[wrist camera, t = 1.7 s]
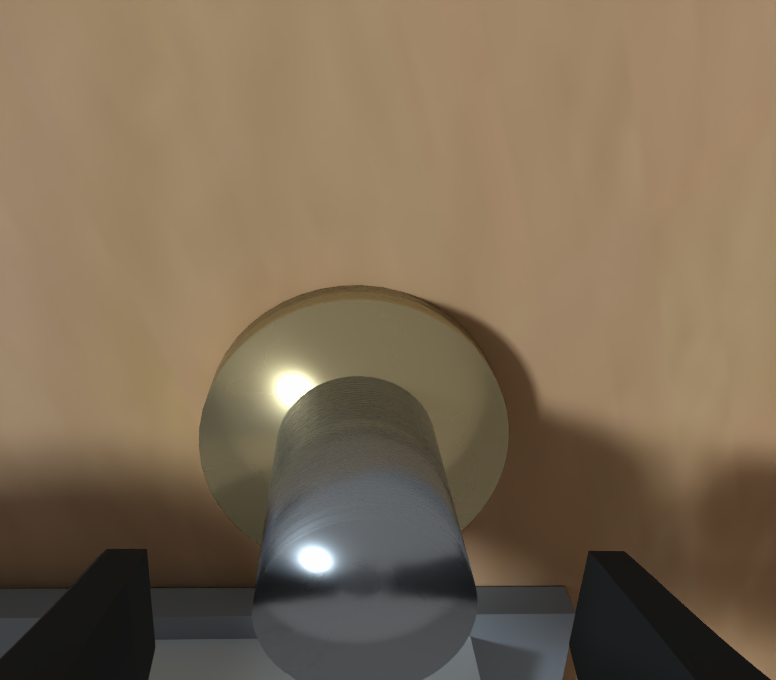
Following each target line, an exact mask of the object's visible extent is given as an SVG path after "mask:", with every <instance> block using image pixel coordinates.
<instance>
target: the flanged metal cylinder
mask: <svg viewBox="0 0 776 680" xmlns="http://www.w3.org/2000/svg"><path fill="white" fill-rule="evenodd" d="M508 442H509V424H508V414H507V409H506V405H505V401H504V397H503V395H502V392H501V390H500V387H499V385H498V382H497V380H496V378H495V376H494V374H493V372H492V370H491V368H490V366H489V364H488V362H487V360H486V358H485V357H484V355H483V353H482V351H481V350H480V348H479V346H478V345H477V343H476V342H475V341H474V340H473V338H472V337H471V336H470V335H469V333H468V332H467V331H466V330H465V329H464V328H463V327H462V326H461V325H460V324H459V323H457V322H456V321H455V320H454V319H453V318H452V317H450V316H449V315H448V314H446V313H445V312H443V311H442V310H441V309H439V308H438V307H436V306H434V305H432V304H430V303H428V302H426V301H424V300H422V299H420V298H418V297H415V296H412V295H410V294H407V293H404V292H401V291H397V290H392V289H388V288H384V287H375V286H365V285H351V286H336V287H330V288H323V289H319V290H315V291H312V292H308V293H305V294H301V295H299V296H296V297H294V298H292V299H289V300H287V301H285V302H282V303H281V304H279V305H277V306H276V307H274V308H272V309H270V310H269V311H267V312H265V313H264V314H263V315H262V316H260V317H259V318H258V319H256V320H255V321H254V322H253V323H251V324H250V325H249V326H248V327H247V328H246V329H245V330H244V331H243V332H242V333H241V334H240V335H239V336H238V337H237V338H236V340H235V341H234V343H233V344H232V345H231V347H230V348H229V350H228V351H227V352H226V354H225V356H224V357H223V359H222V361H221V363H220V365H219V367H218V369H217V371H216V374H215V377H214V379H213V382H212V385H211V388H210V390H209V393H208V396H207V399H206V402H205V405H204V408H203V411H202V417H201V422H200V428H199V449H200V457H201V464H202V468H203V471H204V475H205V478H206V481H207V483H208V485H209V488H210V490H211V492H212V494H213V496H214V498H215V499H216V501H217V503H218V504H219V506H220V507H221V509H222V510H223V512H224V513H225V514H226V515H227V516H228V518H229V519H230V520H231V521H232V522H233V523H234V525H236V526H237V527H238V528H239V529H240V530H241V531H242V532H243V533H244V534H245V535H247V536H248V537H249V538H251V539H252V540H253V541H255V542H256V543H258V544H259V545H261V550H260V557H259V564H258V571H257V577H256V584H255V591H254V598H253V608H252V618H253V626H254V629H255V633H256V636H257V639H258V641H259V643H260V645H261V647H262V648H263V650H264V651H265V653H266V654H267V656H268V657H269V658H270V659H271V660H272V661H273V662H274V663H275V665H276V666H278V667H279V668H280V669H281V670H283V671H284V672H285V673H286V674H288V675H290V676H291V677H293V678H294V679H296V680H423V679H425V678H427V677H429V676H430V675H432V674H433V673H435V672H437V671H438V670H439V669H441V668H442V667H443V666H444V665H446V664H447V663H448V662H449V661H450V660H451V659H452V658H453V657H454V656H455V655H456V654H457V653H458V652H459V650H460V649H461V648H462V647H463V645H464V644H465V642H466V640H467V639H468V637H469V635H470V633H471V631H472V628H473V626H474V623H475V619H476V614H477V603H478V599H477V590H476V586H475V582H474V579H473V575H472V571H471V567H470V564H469V560H468V556H467V552H466V548H465V545H464V541H463V537H462V533H461V530H463V529H464V528H465V527H466V526H467V525H468V524H469V523H470V522H471V521H472V520H473V519H474V518H475V517H476V516H477V515H478V514H479V513H480V511H481V510H482V508H483V507H484V506H485V504H486V503H487V502H488V500H489V499H490V497H491V495H492V493H493V492H494V490H495V488H496V486H497V484H498V482H499V479H500V477H501V474H502V471H503V469H504V465H505V461H506V456H507V452H508Z"/></svg>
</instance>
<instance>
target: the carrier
mask: <svg viewBox="0 0 776 680" xmlns="http://www.w3.org/2000/svg"><path fill="white" fill-rule="evenodd" d="M67 590H68V589H0V658H1V657H2V656H3V655H4V654H5V653H6V652H7V651H8V650H9V649H10V648H11V647H12V646H13V645H14V644H15V643H16V642H17V641H18V640H19V639H20V638H21V637H22V636H23V635H24V634H25V633H26V632H27V631H28V630H29V629H30V628H31V627H32V626H33V625H34V624H35V623H36V622H37V621H38V620H39V619H40V618H41V617H42V616H43V615H44V614H45V613H46V612H47V611H48V610H49V609H50V608H51V607H52V606H53V605H54V604H55V603H56V602H57V600H58V599H59V598H60V597H61V596H62V595H63V594H64V593H65V592H66V591H67ZM476 590H477V599H478V603H477V614H476V619H475V623H474V626H473V628H472V631H471V633H470V635H469V637H468V639H467V640H466V642H465V644H464V645H463V647H462V648H461V649H460V650H459V652H458V653H457V654H456V655H455V656H454V657H453V658H452V659H451V660H450V661H449V662H448V663H447V664H446V665H444V666H443V667H442V668H441V669H439V670H438V671H437V672H435V673H433V674H432V675H430V676H429V677H427V678H425V679H423V680H562V679H563V674H564V669H565V664H566V660H567V655H568V650H569V641H570V636H571V632H572V627H573V622H574V618H575V613H576V612H575V609H574V607H573V605H572V602H571V600H570V598H569V596H568V593H567V591H566V589H565V587H476ZM150 591H151V602H152V613H153V624H154V635H155V646H156V647H155V652H154V657H153V661H152V666H151V670H150V675H149V680H296V679H294V678H293V677H291V676H290V675H288V674H286V673H285V672H284V671H283V670H281V669H280V668H279V667H278V666H276V665H275V663H274V662H273V661H272V660H271V659H270V658H269V657H268V656H267V654H266V653H265V651H264V650H263V648H262V647H261V645H260V643H259V641H258V639H257V636H256V633H255V629H254V626H253V618H252V608H253V598H254V591H255V588H150Z"/></svg>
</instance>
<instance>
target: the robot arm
mask: <svg viewBox="0 0 776 680" xmlns="http://www.w3.org/2000/svg"><path fill="white" fill-rule="evenodd" d="M569 646H570V650H571V654H572V658H573V662H574V666H575V670H576V674H577V678H578V680H771V679H769V678H768V677H767V676H766V675H764V674H763V673H762V672H761V671H759V670H758V669H757V668H756V667H754V666H753V665H752V664H751V663H750V662H748V661H747V660H746V659H745V658H744V657H742V656H741V655H740V654H739V653H738V652H737V651H735V650H734V649H733V648H732V647H731V646H730V645H728V644H727V643H726V642H725V641H724V640H723V639H721V638H720V637H719V636H718V635H717V634H716V633H715V632H713V631H712V630H711V629H710V628H709V627H708V626H707V625H706V624H704V623H703V622H702V621H701V620H700V619H699V618H698V617H697V616H695V615H694V614H693V613H692V612H691V611H690V610H689V609H688V608H687V607H685V606H684V605H683V604H682V603H681V602H680V601H679V600H678V599H677V598H676V597H675V596H673V595H672V594H671V593H670V592H669V591H668V590H667V589H666V588H665V587H664V586H662V585H661V584H660V583H659V582H658V581H657V580H656V579H655V578H654V577H653V576H652V575H650V574H649V573H648V572H647V571H646V570H645V569H644V568H643V567H642V566H640V565H639V564H638V563H637V562H636V561H635V560H634V559H633V558H631V557H630V556H629V555H628V554H627V553H626V552H624V551H589V552H588V557H587V561H586V566H585V571H584V575H583V580H582V585H581V589H580V594H579V599H578V603H577V608H576V613H575V618H574V622H573V627H572V632H571V636H570V641H569ZM155 647H156V646H155V635H154V624H153V613H152V602H151V591H150V580H149V568H148V557H147V549H107V550H105V551H104V552H103V553H102V554H101V555H100V556H99V557H98V558H97V559H96V560H95V561H94V562H93V563H92V564H91V565H90V566H89V568H88V569H87V570H86V571H85V572H84V573H83V574H82V575H81V576H80V577H79V578H78V579H77V580H76V581H75V583H74V584H73V585H72V586H71V587H70V588H69V589H68V590H67V591H66V592H65V593H64V594H63V595H62V596H61V597H60V598H59V599H58V600H57V602H56V603H55V604H54V605H53V606H52V607H51V608H50V609H49V610H48V611H47V612H46V613H45V614H44V615H43V616H42V617H41V618H40V619H39V620H38V621H37V622H36V623H35V624H34V625H33V626H32V627H31V628H30V629H29V630H28V631H27V632H26V633H25V634H24V635H23V636H22V637H21V638H20V639H19V640H18V641H17V642H16V643H15V644H14V645H13V646H12V647H11V648H10V649H9V650H8V651H7V652H6V653H5V654H4V655H3V656H2V657H1V658H0V680H149V675H150V670H151V666H152V661H153V657H154V652H155Z"/></svg>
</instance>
